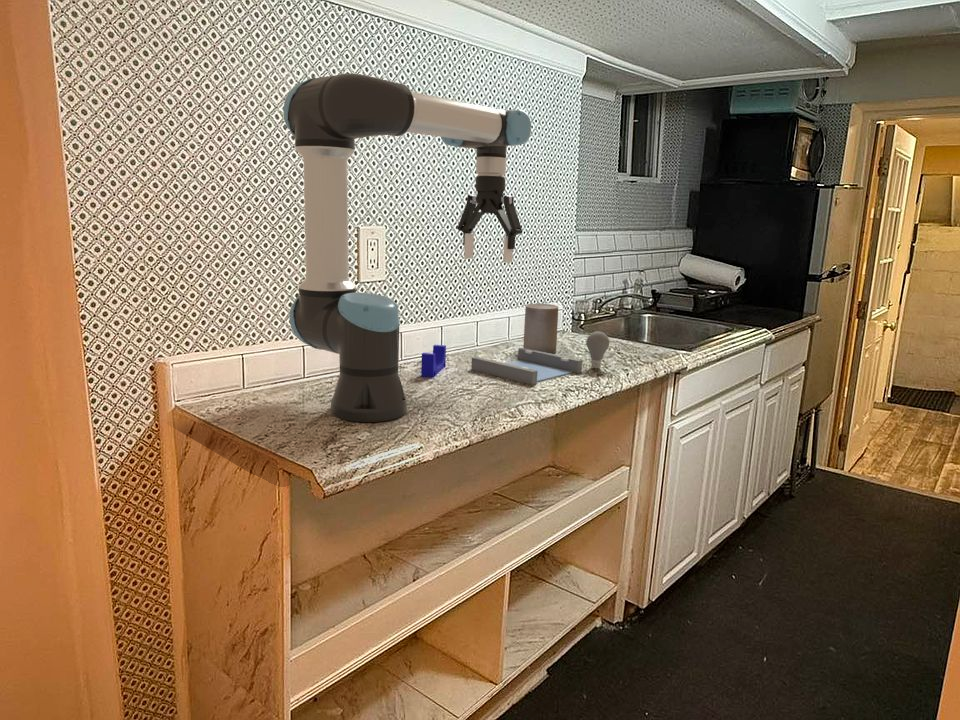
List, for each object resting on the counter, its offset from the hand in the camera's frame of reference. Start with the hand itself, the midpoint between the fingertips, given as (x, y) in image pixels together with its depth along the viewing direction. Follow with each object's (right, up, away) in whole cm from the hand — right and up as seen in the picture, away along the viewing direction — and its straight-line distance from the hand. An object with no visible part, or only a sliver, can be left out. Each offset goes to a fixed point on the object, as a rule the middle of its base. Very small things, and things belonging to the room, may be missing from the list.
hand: (487, 260), depth 177 cm
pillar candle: (+16, -24, +24) cm, 37 cm away
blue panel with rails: (+10, -29, 0) cm, 30 cm away
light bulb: (+29, -28, +6) cm, 41 cm away
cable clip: (-14, -29, -5) cm, 33 cm away
